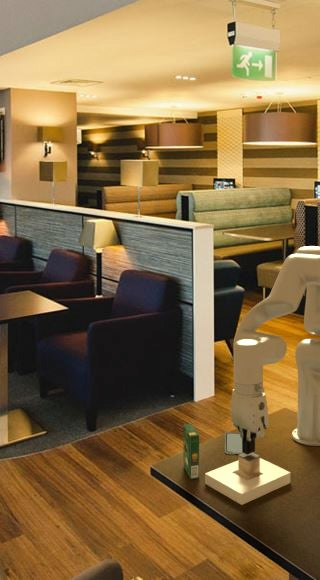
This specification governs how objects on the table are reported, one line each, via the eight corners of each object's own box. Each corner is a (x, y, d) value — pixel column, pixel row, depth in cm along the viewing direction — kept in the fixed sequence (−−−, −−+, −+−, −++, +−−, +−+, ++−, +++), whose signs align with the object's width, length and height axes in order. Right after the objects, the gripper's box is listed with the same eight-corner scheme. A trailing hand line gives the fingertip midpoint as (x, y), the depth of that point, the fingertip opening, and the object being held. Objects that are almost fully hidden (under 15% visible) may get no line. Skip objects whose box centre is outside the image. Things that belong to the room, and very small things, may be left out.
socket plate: (253, 464, 179) (253, 454, 178) (290, 482, 168) (290, 472, 167) (205, 483, 168) (205, 473, 168) (241, 504, 157) (241, 494, 157)
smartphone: (248, 433, 199) (249, 453, 185) (248, 435, 200) (249, 455, 185) (224, 432, 200) (224, 452, 185) (224, 434, 200) (224, 455, 186)
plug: (249, 478, 171) (249, 450, 169) (259, 483, 168) (259, 455, 166) (238, 482, 169) (238, 454, 167) (248, 488, 165) (248, 460, 164)
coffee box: (200, 479, 171) (199, 434, 168) (190, 480, 170) (189, 435, 168) (193, 466, 178) (192, 422, 176) (183, 467, 178) (182, 423, 175)
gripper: (279, 391, 159) (279, 457, 163) (238, 376, 171) (239, 439, 175) (258, 398, 155) (258, 466, 159) (218, 382, 167) (219, 446, 170)
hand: (248, 452), depth 167 cm, fingers closed
